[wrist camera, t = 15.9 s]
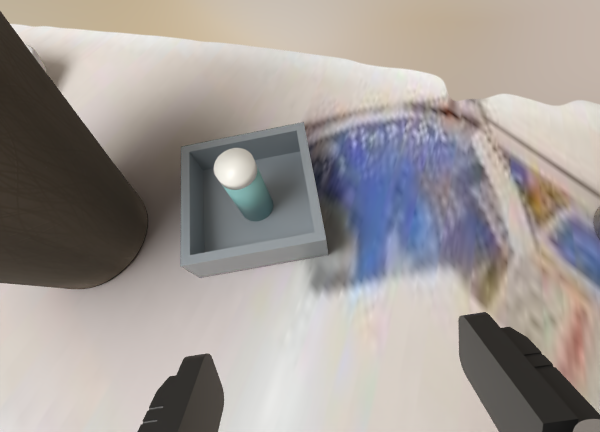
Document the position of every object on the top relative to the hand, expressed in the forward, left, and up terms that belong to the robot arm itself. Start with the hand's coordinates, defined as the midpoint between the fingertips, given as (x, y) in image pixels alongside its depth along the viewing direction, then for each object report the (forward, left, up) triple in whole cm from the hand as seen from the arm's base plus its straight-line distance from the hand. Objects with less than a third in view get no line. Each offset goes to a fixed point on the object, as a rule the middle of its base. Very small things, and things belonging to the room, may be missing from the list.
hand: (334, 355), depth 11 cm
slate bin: (+8, -22, -32) cm, 39 cm away
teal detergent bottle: (+8, -22, -31) cm, 39 cm away
